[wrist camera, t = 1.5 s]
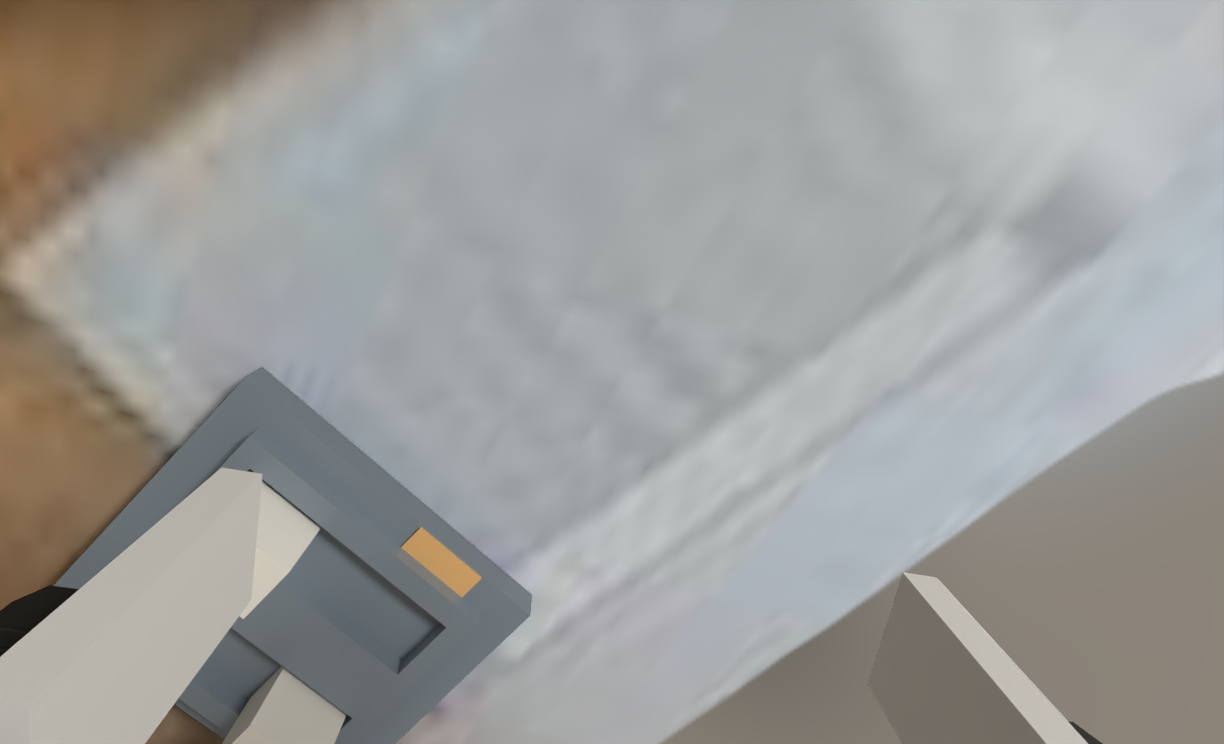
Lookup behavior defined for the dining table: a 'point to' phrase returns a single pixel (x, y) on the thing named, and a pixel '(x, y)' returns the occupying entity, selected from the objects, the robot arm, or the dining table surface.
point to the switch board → (331, 575)
